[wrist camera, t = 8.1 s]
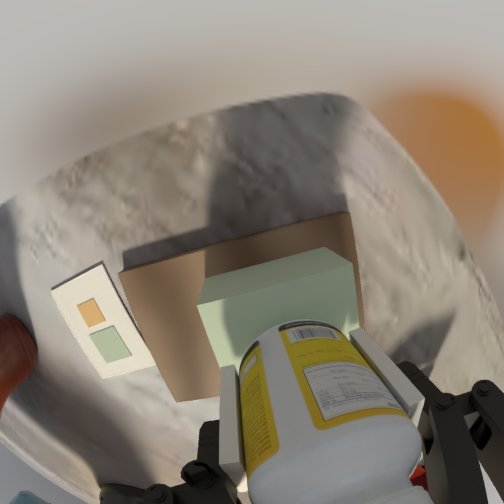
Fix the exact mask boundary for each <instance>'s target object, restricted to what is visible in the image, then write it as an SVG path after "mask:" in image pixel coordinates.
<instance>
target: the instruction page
mask: <svg viewBox="0 0 504 504" xmlns="http://www.w3.org/2000/svg"><path fill="white" fill-rule="evenodd" d="M51 294H52V296H53V298H54V300H55V302H56V304H57V306H58V308H59V310H60V312H61V314H62V315H63V317H64V319H65V321H66V323H67V324H68V326H69V328H70V330H71V331H72V333H73V335H74V336H75V338H76V340H77V341H78V343H79V344H80V346H81V348H82V349H83V351H84V352H85V354H86V355H87V357H88V358H89V360H90V361H91V363H92V364H93V366H94V367H95V369H96V370H97V371H98V373H99V374H100V376H101V377H102V378H103V379H105V378H109V377H113V376H117V375H121V374H125V373H128V372H132V371H136V370H139V369H143V368H146V367H150V366H153V365H156V363H155V361H154V359H153V357H152V355H151V353H150V351H149V349H148V347H147V344H146V343H145V341H144V340H143V338H142V336H141V335H140V333H139V331H138V330H137V328H136V326H135V324H134V323H133V321H132V319H131V317H130V316H129V314H128V312H127V310H126V309H125V307H124V305H123V303H122V301H121V299H120V297H119V295H118V294H117V292H116V290H115V288H114V286H113V284H112V282H111V280H110V278H109V276H108V274H107V272H106V269H105V267H104V265H103V264H101V265H99V266H97V267H95V268H93V269H91V270H89V271H87V272H86V273H84V274H82V275H80V276H78V277H76V278H74V279H72V280H71V281H69V282H67V283H65V284H63V285H61V286H60V287H58V288H56V289H54V290H52V291H51Z"/></svg>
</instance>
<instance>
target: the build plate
mask: <svg viewBox="0 0 504 504" xmlns="http://www.w3.org/2000/svg"><path fill="white" fill-rule="evenodd" d="M321 247H326V248H328V249H329V250H331V251H333V252H334V253H336V254H338V255H339V256H341V257H343V258H344V259H346V260H348V261H349V262H351V263H352V264H353V271H354V278H355V287H356V295H357V305H358V315H359V327H361V328H362V329H363V330H364V331H365V329H364V315H363V304H362V294H361V284H360V276H359V268H358V260H357V253H356V247H355V240H354V234H353V228H352V222H351V217H350V213H349V212H339V213H335V214H331V215H327V216H323V217H319V218H315V219H311V220H307V221H303V222H299V223H295V224H291V225H287V226H283V227H279V228H275V229H271V230H268V231H264V232H260V233H256V234H252V235H248V236H244V237H241V238H237V239H233V240H229V241H225V242H222V243H218V244H214V245H210V246H207V247H203V248H199V249H195V250H192V251H188V252H184V253H181V254H177V255H173V256H170V257H166V258H163V259H159V260H155V261H152V262H148V263H145V264H141V265H137V266H134V267H130V268H127V269H123V270H122V271H121V272H119V273H118V275H119V278H120V281H121V284H122V286H123V289H124V292H125V294H126V297H127V300H128V302H129V305H130V307H131V310H132V312H133V315H134V317H135V319H136V322H137V324H138V326H139V329H140V331H141V333H142V336H143V338H144V340H145V342H146V344H147V347H148V349H149V351H150V353H151V355H152V357H153V359H154V361H155V363H156V365H157V367H158V369H159V371H160V373H161V375H162V377H163V379H164V381H165V383H166V385H167V386H168V388H169V390H170V392H171V394H172V396H173V397H174V399H175V401H176V402H183V401H191V400H198V399H204V398H210V397H216V396H220V382H221V369H220V367H219V364H218V362H217V359H216V357H215V354H214V351H213V349H212V346H211V344H210V341H209V338H208V336H207V333H206V330H205V327H204V325H203V322H202V319H201V316H200V313H199V311H198V308H197V303H198V299H199V296H200V293H201V289H202V286H203V282H204V279H205V278H208V277H212V276H216V275H219V274H223V273H227V272H231V271H235V270H239V269H243V268H246V267H250V266H254V265H258V264H262V263H265V262H269V261H273V260H277V259H280V258H284V257H288V256H292V255H295V254H299V253H303V252H307V251H310V250H314V249H318V248H321Z"/></svg>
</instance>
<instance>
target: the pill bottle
mask: <svg viewBox="0 0 504 504" xmlns="http://www.w3.org/2000/svg"><path fill="white" fill-rule="evenodd" d="M239 388H240V404H241V418H242V431H243V443H244V455H245V466H246V476H247V487H248V493H249V498H250V501H251V503H252V504H434V503H433V501H432V499H431V497H430V495H429V493H428V492H427V491H426V490H424V488H423V487H422V486H413V485H412V483H411V481H410V479H409V478H410V476H411V475H412V474H413V472H414V470H415V469H416V467H417V465H418V463H419V460H420V457H421V452H422V440H421V436H420V433H419V431H418V429H417V428H416V426H415V425H414V423H413V422H412V420H411V419H410V418H409V416H408V415H407V414H406V412H405V411H404V410H403V408H402V407H401V406H400V405H399V403H398V402H397V401H396V399H395V398H394V397H393V396H392V394H391V393H390V392H389V390H388V389H387V388H386V387H385V385H384V384H383V383H382V381H381V380H380V379H379V377H378V376H377V375H376V374H375V372H374V371H373V370H372V369H371V367H370V366H369V365H368V364H367V362H366V361H365V360H364V359H363V357H362V356H361V355H360V354H359V352H358V351H357V350H356V348H355V347H354V346H353V345H352V343H351V342H350V341H349V340H348V339H347V337H346V336H345V335H344V334H343V333H342V332H341V331H340V330H339V329H337V328H336V327H334V326H332V325H330V324H328V323H326V322H323V321H319V320H312V319H299V320H292V321H288V322H284V323H281V324H279V325H276V326H274V327H272V328H270V329H268V330H267V331H265V332H264V333H262V334H261V335H260V336H258V337H257V338H256V339H255V340H254V341H253V342H252V343H251V344H250V346H249V347H248V348H247V350H246V352H245V353H244V355H243V357H242V360H241V363H240V367H239Z"/></svg>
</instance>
